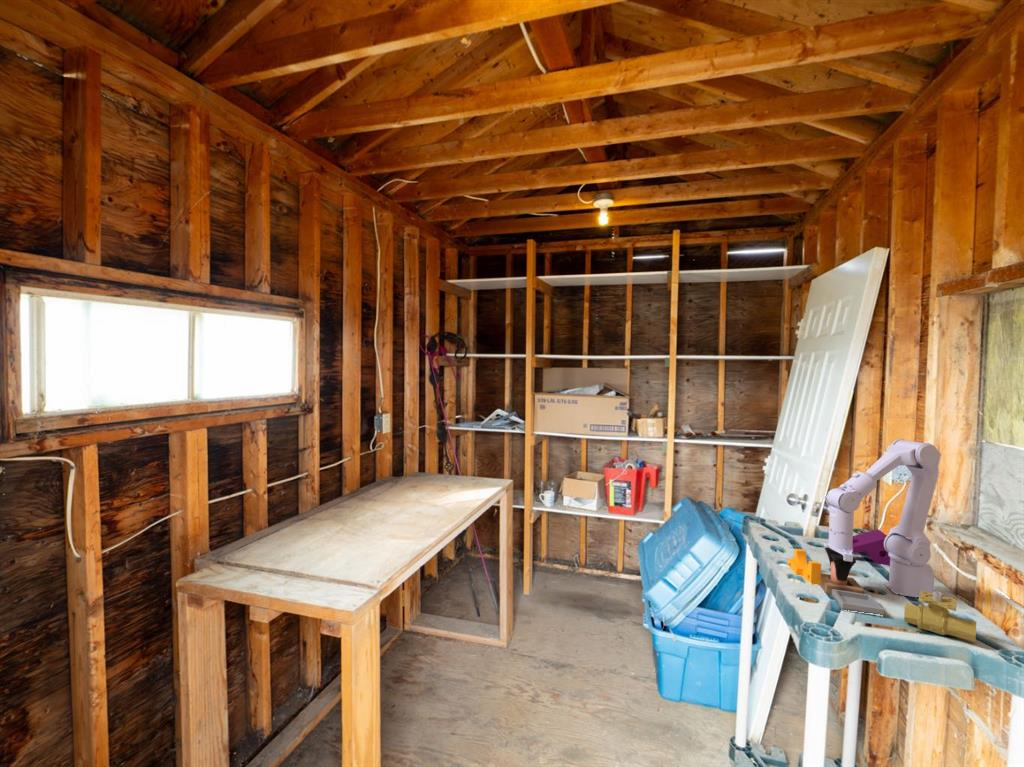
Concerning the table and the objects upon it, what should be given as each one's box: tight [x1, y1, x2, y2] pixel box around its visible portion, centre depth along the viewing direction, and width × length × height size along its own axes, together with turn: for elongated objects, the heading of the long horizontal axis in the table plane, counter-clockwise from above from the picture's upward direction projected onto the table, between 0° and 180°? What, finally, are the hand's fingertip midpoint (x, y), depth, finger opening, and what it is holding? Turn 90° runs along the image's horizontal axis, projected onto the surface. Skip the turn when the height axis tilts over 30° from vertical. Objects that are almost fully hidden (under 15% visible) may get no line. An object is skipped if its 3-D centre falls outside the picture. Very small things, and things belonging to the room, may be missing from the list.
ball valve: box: [903, 590, 977, 644], centre depth 113 cm, size 13×10×10 cm
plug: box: [830, 562, 847, 586], centre depth 134 cm, size 4×4×7 cm
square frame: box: [819, 572, 866, 595], centre depth 134 cm, size 9×9×2 cm
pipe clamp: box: [787, 548, 822, 586], centre depth 143 cm, size 12×4×6 cm, turn 170°
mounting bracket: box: [827, 528, 890, 566], centre depth 161 cm, size 10×8×18 cm
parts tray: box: [831, 589, 885, 616], centre depth 124 cm, size 9×9×2 cm
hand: (838, 577), depth 134 cm, fingers closed on plug, 4 cm apart
